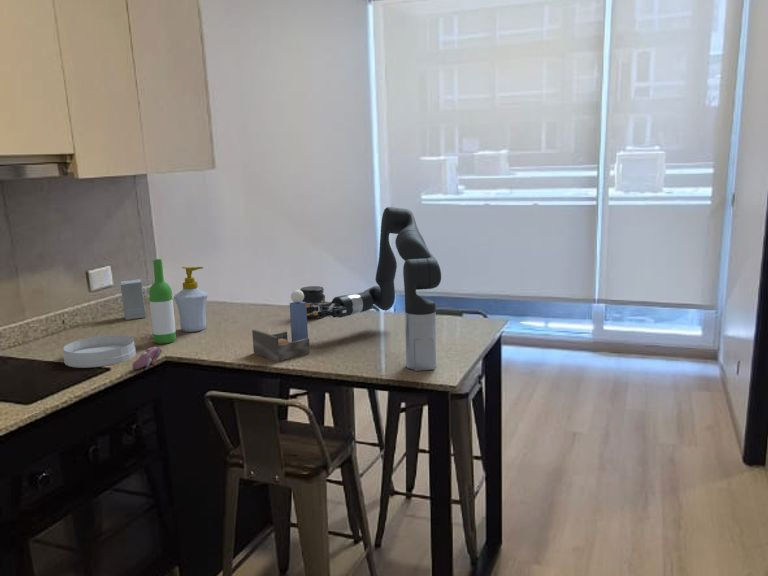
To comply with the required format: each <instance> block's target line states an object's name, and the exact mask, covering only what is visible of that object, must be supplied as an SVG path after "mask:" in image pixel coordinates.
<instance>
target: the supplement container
mask: <svg viewBox="0 0 768 576" xmlns="http://www.w3.org/2000/svg"><path fill="white" fill-rule="evenodd" d="M299 290H300V291H302V292H303V294H304V299H303V301H302V302H306V307H310V304H315V303H320V302H324V303H326V295H325V294H324V287H323V286H319V285H318V286H317V285H315V286H313V285H310V286H304V287H301V288H300V289H299ZM320 311H322V310H320ZM317 318H318V312H315V313H309V314H307V320H318V319H317Z"/></svg>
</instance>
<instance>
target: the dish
mask: <svg viewBox="0 0 768 576" xmlns="http://www.w3.org/2000/svg"><path fill="white" fill-rule="evenodd" d="M62 348H63V361H64V364H65V365H66V366H68V367H70V368H71V367H72V368H80V369H81V368H84V369H85V368H86V369H87V368H99V367H107V366H112V365H116V364H118V363H119V364H120V363H122V362H125V361H128V360H130V359H132V358H134V357H135V356H136V355H137V352H136V345H135V338H133V337H132V336H128V335H123V334H122V335H119V334H118V335H116V334H112V335H111V334H110V335H100V336H99V335H98V336H93V337H92V336H91V337H86V338H82V339H77V340H75V341H72V342H70V343H67V344H66V345H65V346H63V347H62Z"/></svg>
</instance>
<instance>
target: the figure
mask: <svg viewBox="0 0 768 576" xmlns="http://www.w3.org/2000/svg"><path fill="white" fill-rule="evenodd" d="M290 298H291V302H289V314H290V315H289V318H290V333H291V334H290V335H291V342H294V341H298V340H302V339H306V338H309V332H308V331H309V330H308V319H307V308H306V302H302V301H303V299H304V294H303V292H302V291H300V289H295V290H293V291H292V292H291V293H290Z"/></svg>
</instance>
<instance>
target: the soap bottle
mask: <svg viewBox="0 0 768 576" xmlns="http://www.w3.org/2000/svg"><path fill="white" fill-rule="evenodd" d="M181 268H182V269H184V270H185V274H186V275H187V277H185V278H184V282H182V289H181V291H179V292H178V293H176V294H174V295H173V299H174V301H175V304H176V306H177V310H178V314H179V321H180V324H179V325H180V328H181V330H182V331H183V332H186V333H187V332H188V333H192V332H193V333H194V332H196V333H197V332H200V331H203V330H205V328H206V325H207V318H206V317H207V316H206V305H207V299H208V296H209V293H208V292H206V291H205V290H202V289H200V288H199V287H198V282H197V281H196V279H195V277H192V275H193V272H194V271H197V270H203V269H204V266H182V267H181Z"/></svg>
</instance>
